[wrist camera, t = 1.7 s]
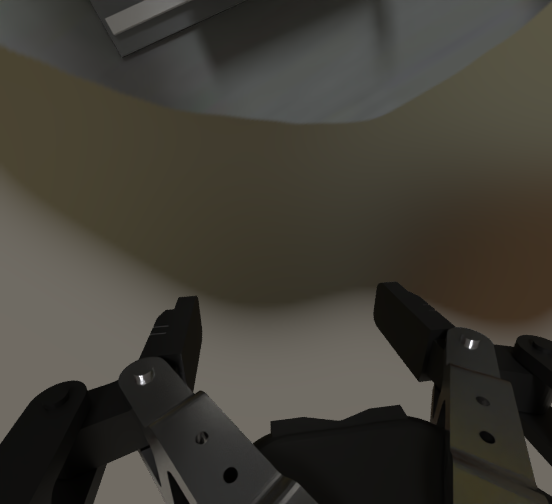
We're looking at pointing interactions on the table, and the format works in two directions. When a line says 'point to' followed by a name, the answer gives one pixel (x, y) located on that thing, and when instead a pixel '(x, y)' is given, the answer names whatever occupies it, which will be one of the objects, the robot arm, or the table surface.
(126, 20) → the track
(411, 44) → the table surface
